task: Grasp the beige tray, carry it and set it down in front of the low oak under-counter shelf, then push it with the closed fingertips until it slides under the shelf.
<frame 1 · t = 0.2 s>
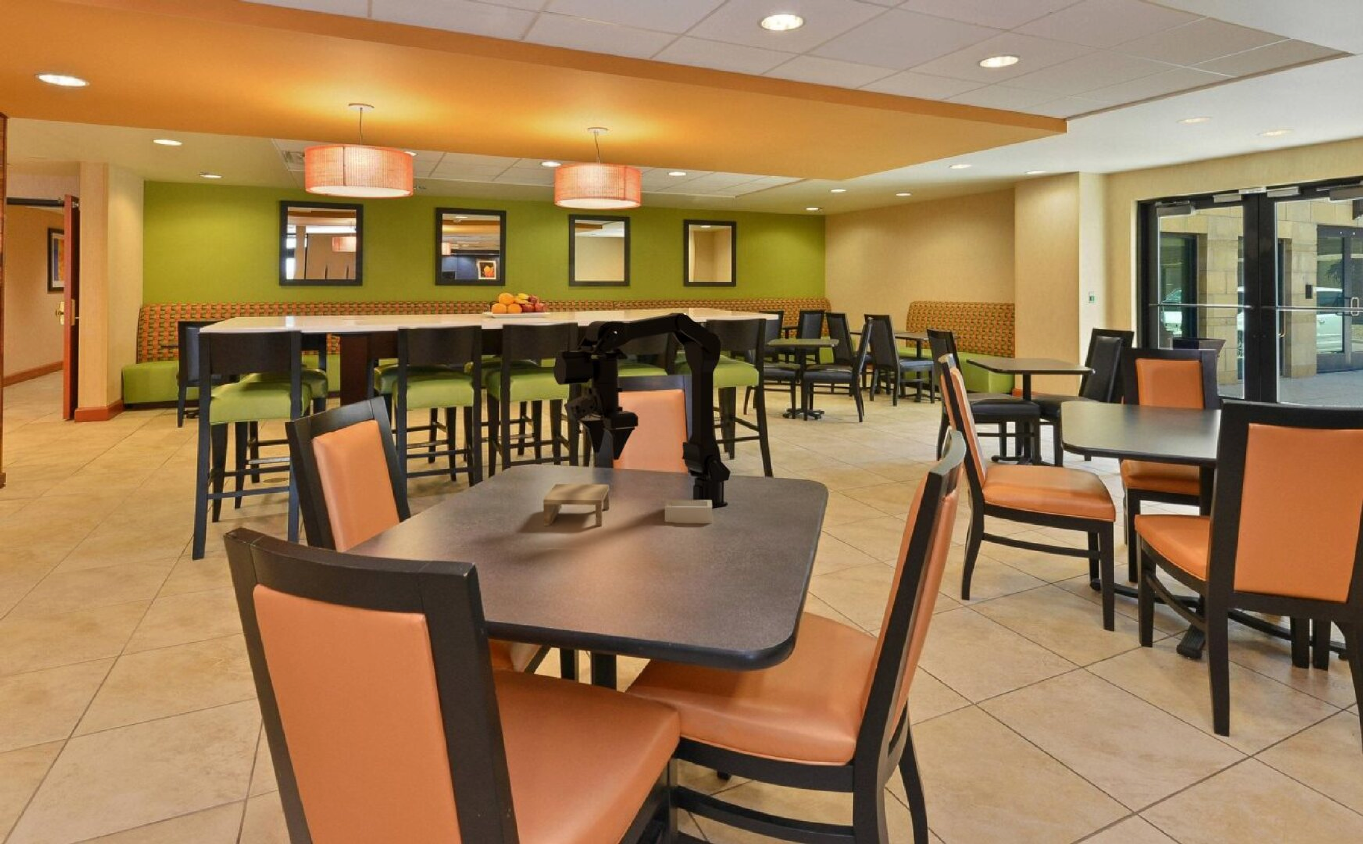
hand: (605, 456, 162), 14 cm above the table, fingers open, 9 cm apart
beige tray: (688, 519, 167), on the table
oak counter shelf: (577, 516, 168), on the table
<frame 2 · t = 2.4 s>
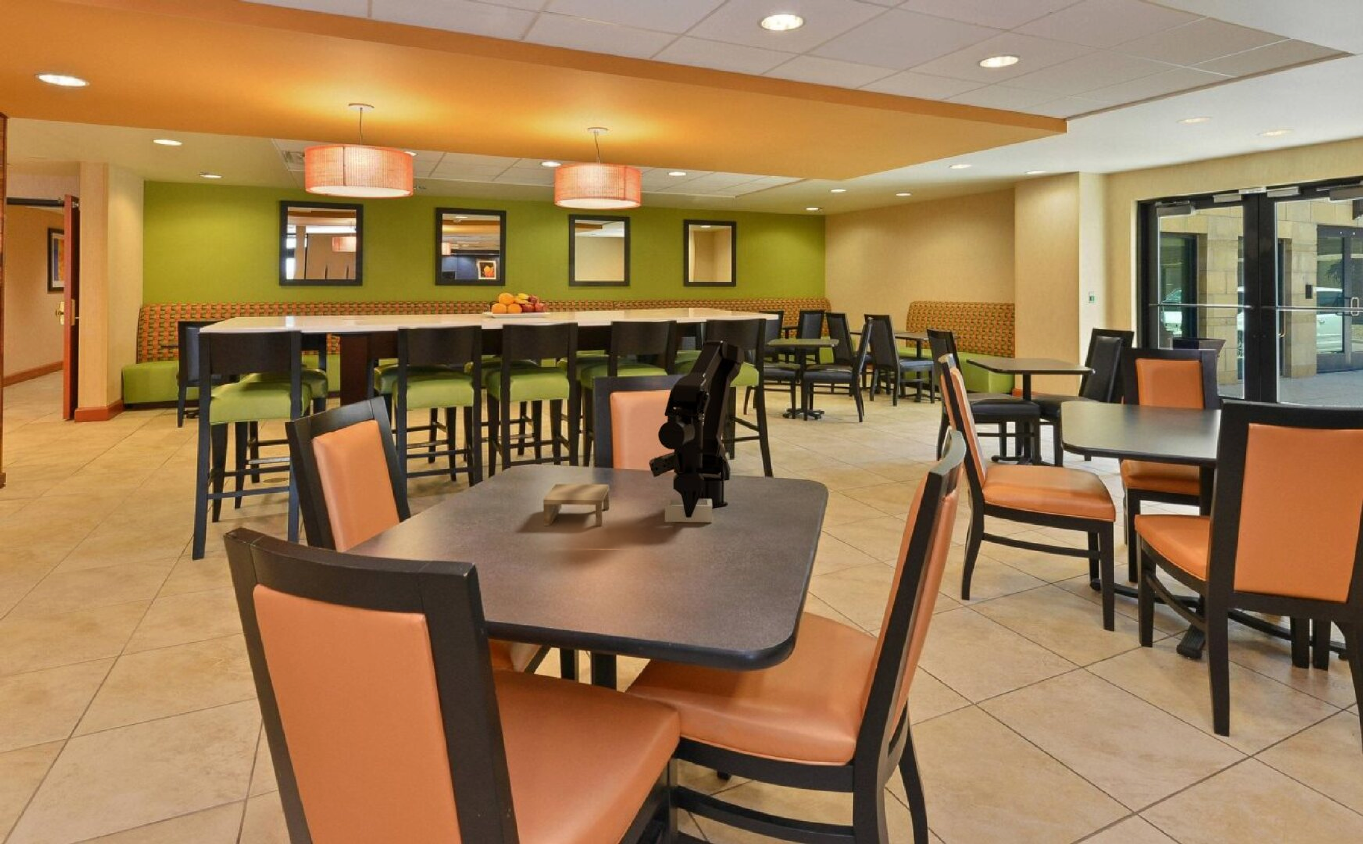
hand: (688, 513, 167), 1 cm above the table, fingers closed on beige tray, 6 cm apart
beige tray: (688, 518, 167), on the table, touching gripper
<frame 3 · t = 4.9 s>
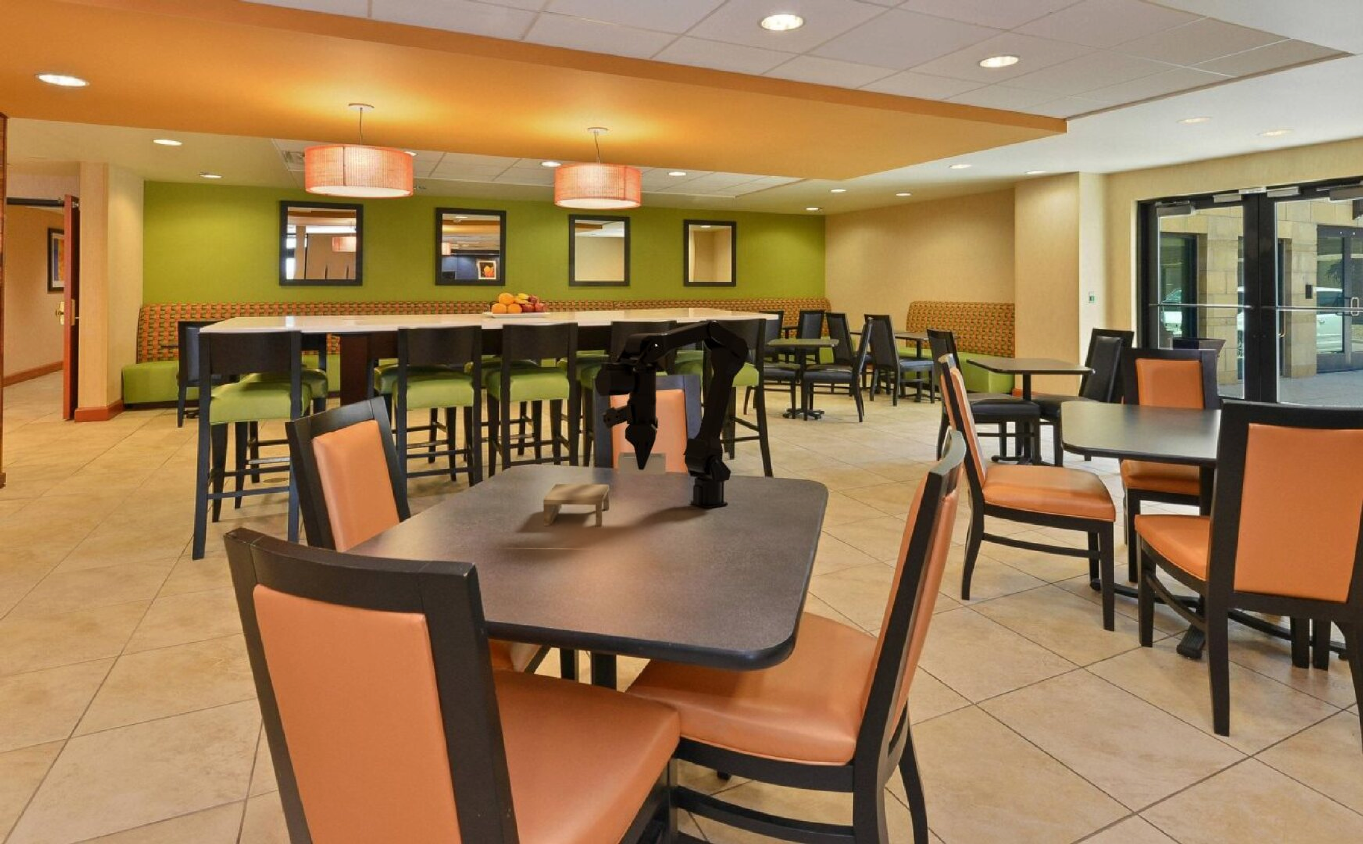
hand: (642, 466, 165), 11 cm above the table, fingers closed on beige tray, 6 cm apart
beige tray: (642, 471, 165), point 10 cm above the table, touching gripper
when the fingers open (2 cm above the table, at t = 7.2 s): beige tray drops 1 cm, on the table.
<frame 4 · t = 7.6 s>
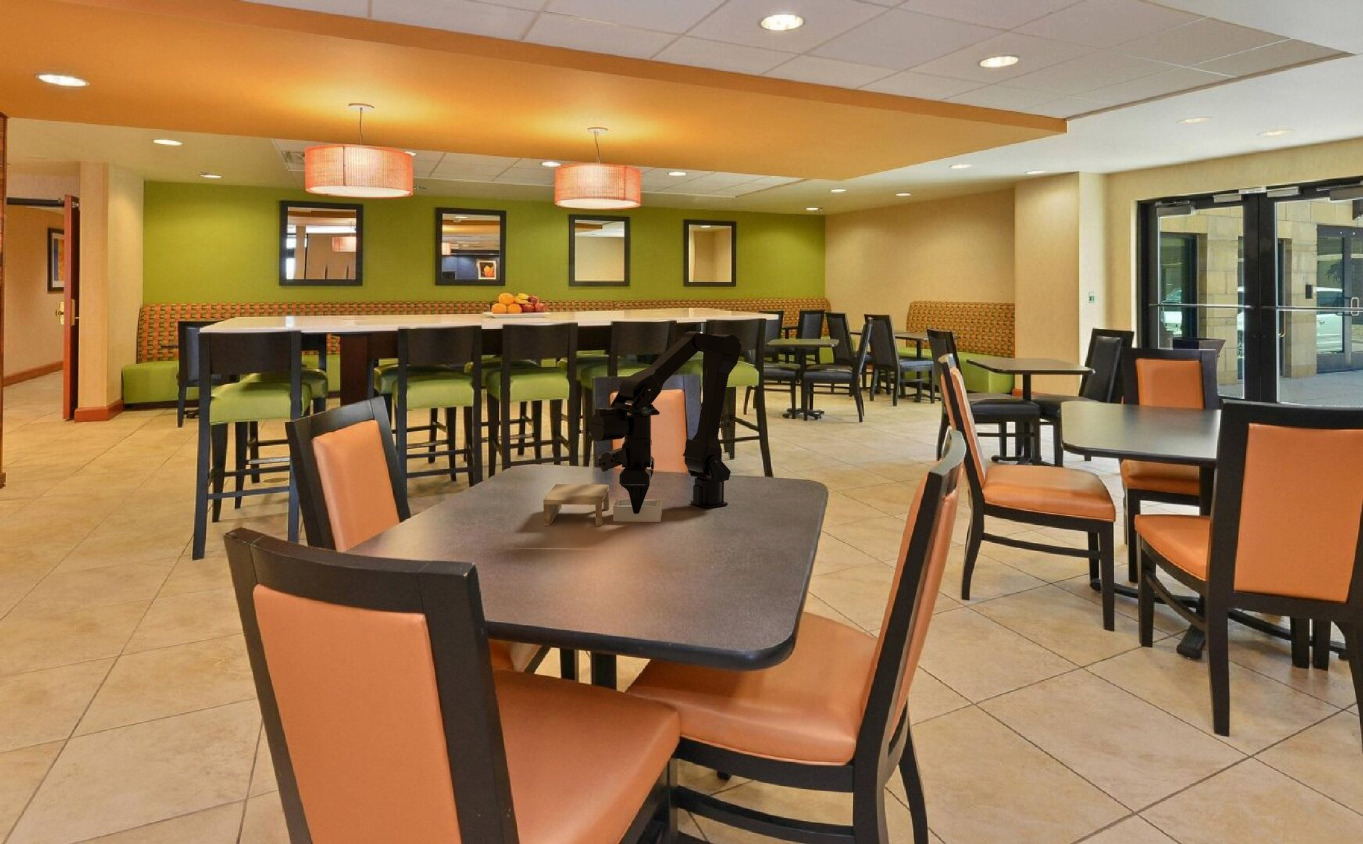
hand: (637, 508, 167), 2 cm above the table, fingers open, 9 cm apart
beige tray: (638, 518, 167), on the table
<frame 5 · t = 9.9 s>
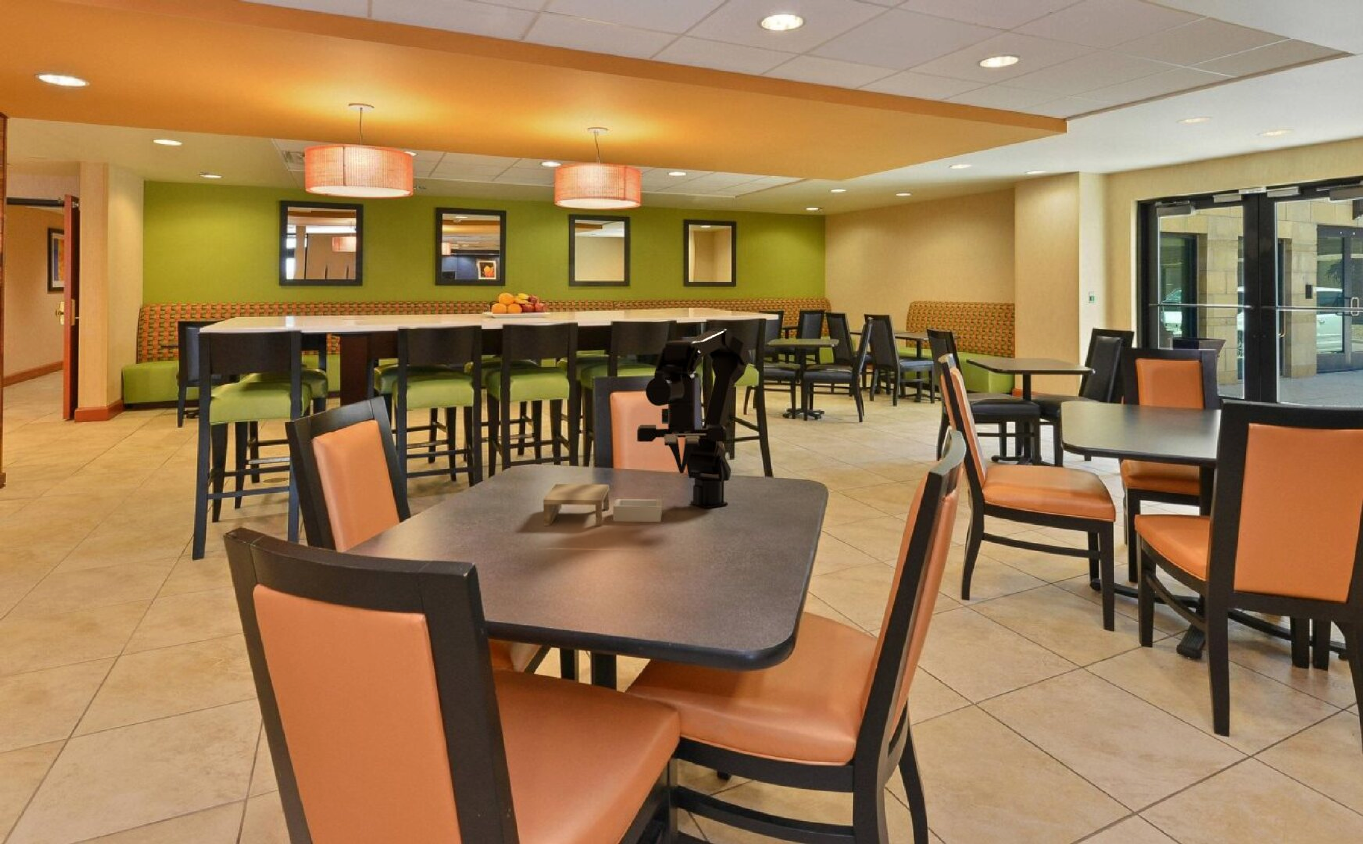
hand: (681, 472, 166), 10 cm above the table, fingers closed
nothing on the table moved.
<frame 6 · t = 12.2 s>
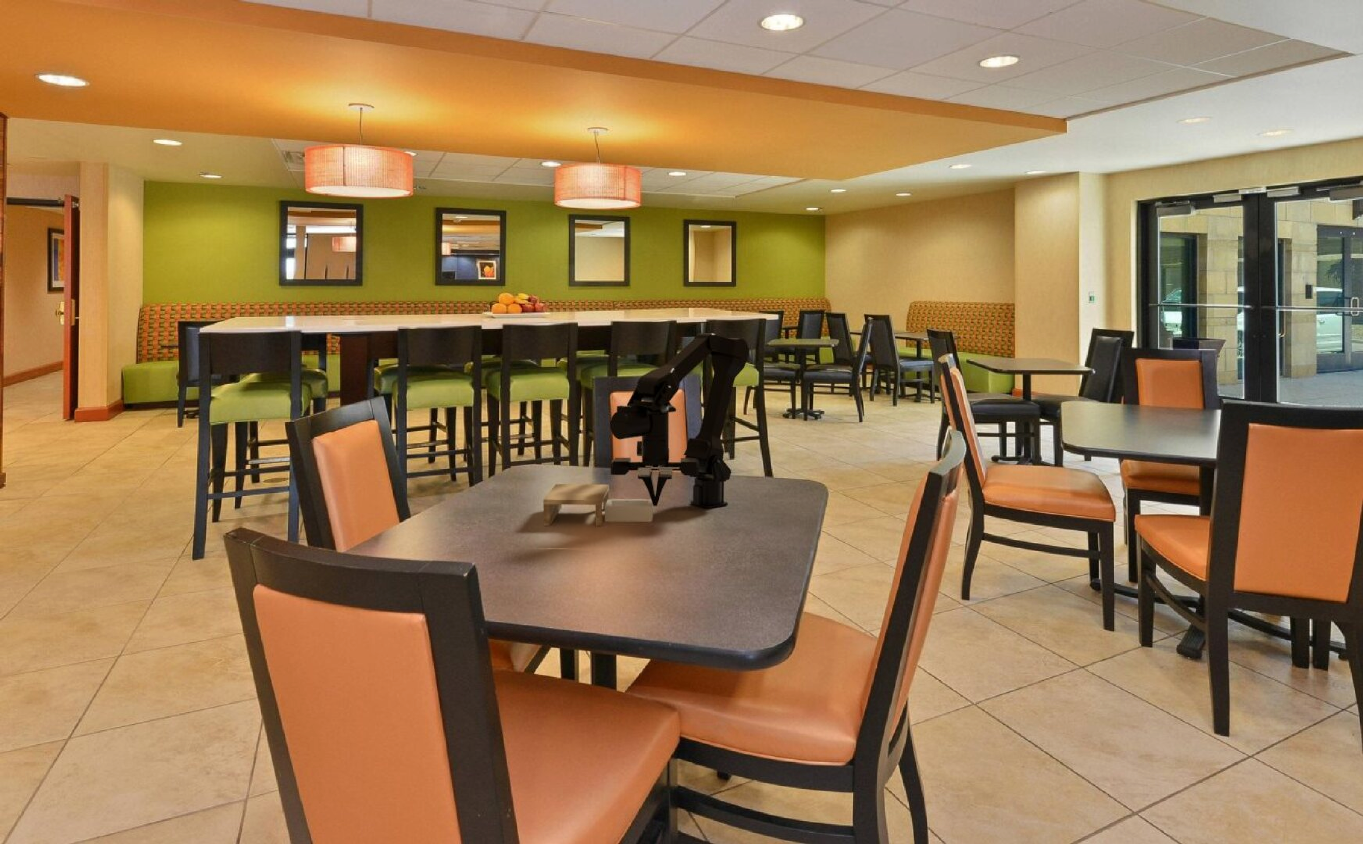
hand: (655, 505, 167), 3 cm above the table, fingers closed
beige tray: (629, 518, 167), on the table
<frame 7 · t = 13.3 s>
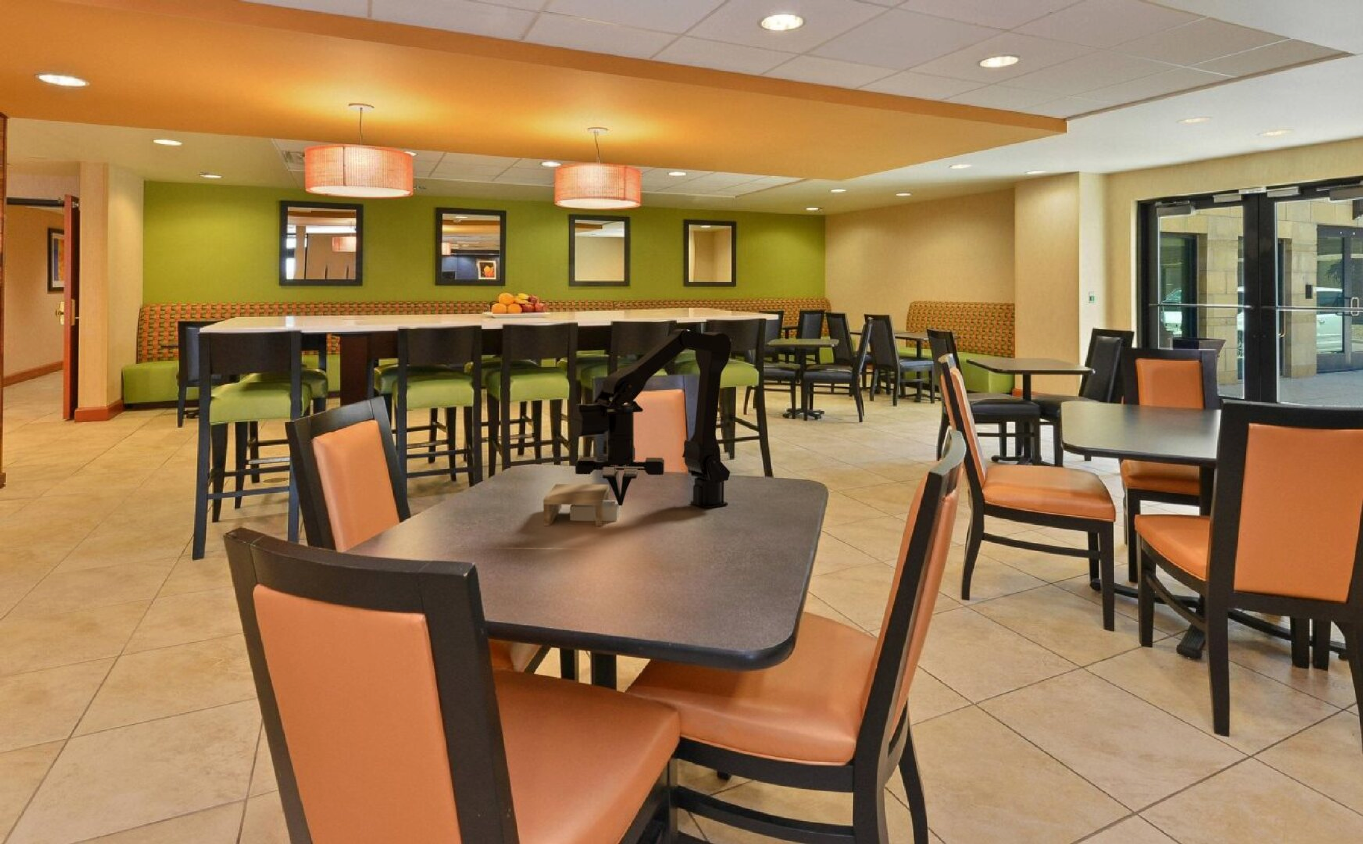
hand: (620, 505, 167), 3 cm above the table, fingers closed
beige tray: (595, 519, 168), on the table, touching gripper
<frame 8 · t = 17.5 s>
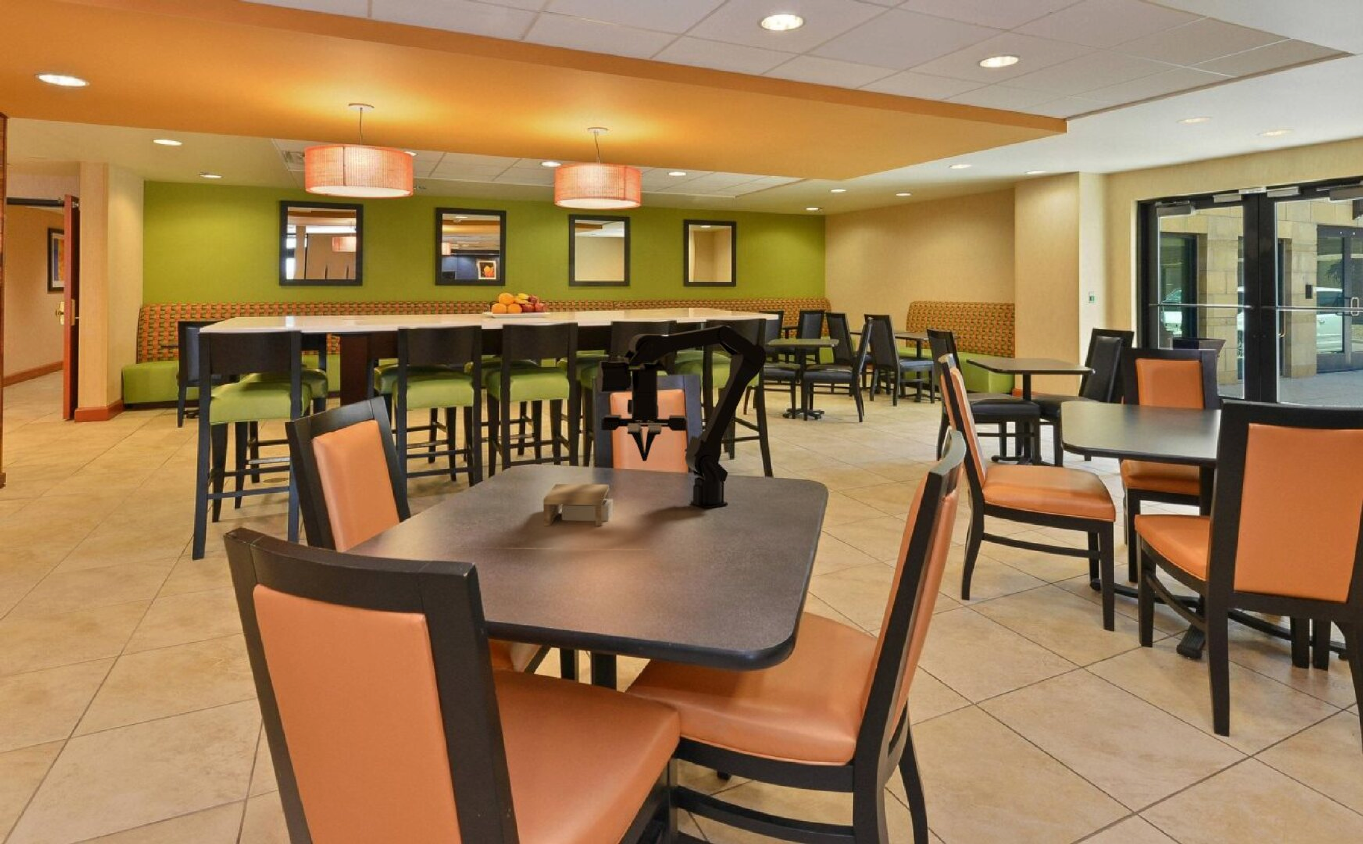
hand: (644, 460, 173), 11 cm above the table, fingers closed
beige tray: (587, 517, 168), on the table
at the end: beige tray 0.9 cm from the target spot on the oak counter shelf, point 0.0 cm above the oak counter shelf's base; beige tray tilted 0°; the gripper is holding nothing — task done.
